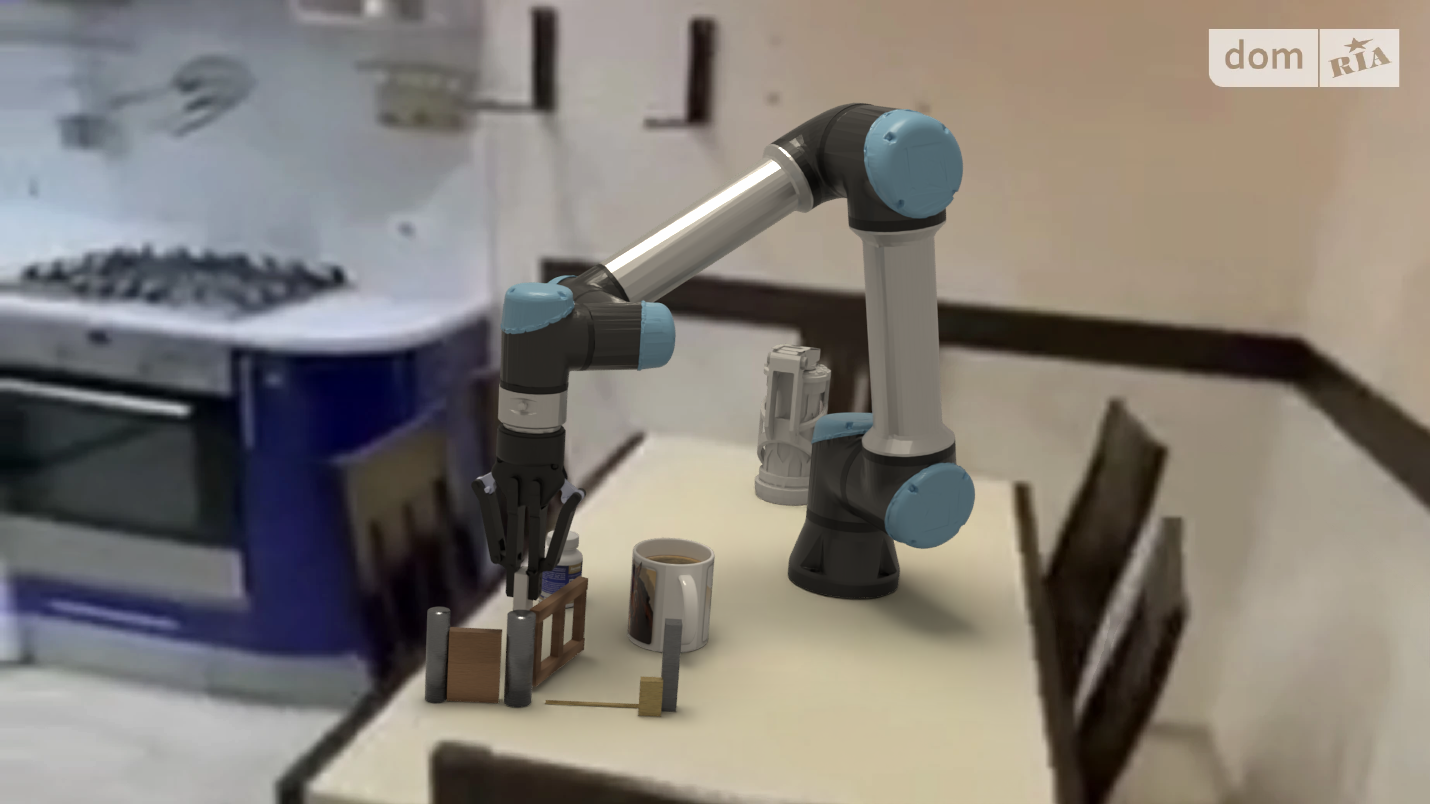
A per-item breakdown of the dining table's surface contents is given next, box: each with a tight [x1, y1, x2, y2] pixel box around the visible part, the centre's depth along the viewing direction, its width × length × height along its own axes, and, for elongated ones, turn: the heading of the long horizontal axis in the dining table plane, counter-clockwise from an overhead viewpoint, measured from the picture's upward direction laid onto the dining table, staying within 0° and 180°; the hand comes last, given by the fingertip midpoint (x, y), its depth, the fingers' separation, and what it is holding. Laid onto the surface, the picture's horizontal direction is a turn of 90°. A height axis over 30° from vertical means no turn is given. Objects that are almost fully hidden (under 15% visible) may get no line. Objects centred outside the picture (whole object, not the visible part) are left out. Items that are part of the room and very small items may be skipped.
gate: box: [530, 576, 589, 688], centre depth 178 cm, size 12×1×9 cm, turn 159°
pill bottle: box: [538, 530, 584, 609], centre depth 199 cm, size 5×5×9 cm
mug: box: [626, 537, 716, 653], centre depth 189 cm, size 10×12×11 cm
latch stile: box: [637, 618, 683, 718], centre depth 170 cm, size 4×3×10 cm
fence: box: [424, 606, 639, 709], centre depth 170 cm, size 25×3×10 cm, turn 94°
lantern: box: [754, 343, 832, 506], centre depth 247 cm, size 13×10×25 cm
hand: (522, 624), depth 180 cm, fingers closed
